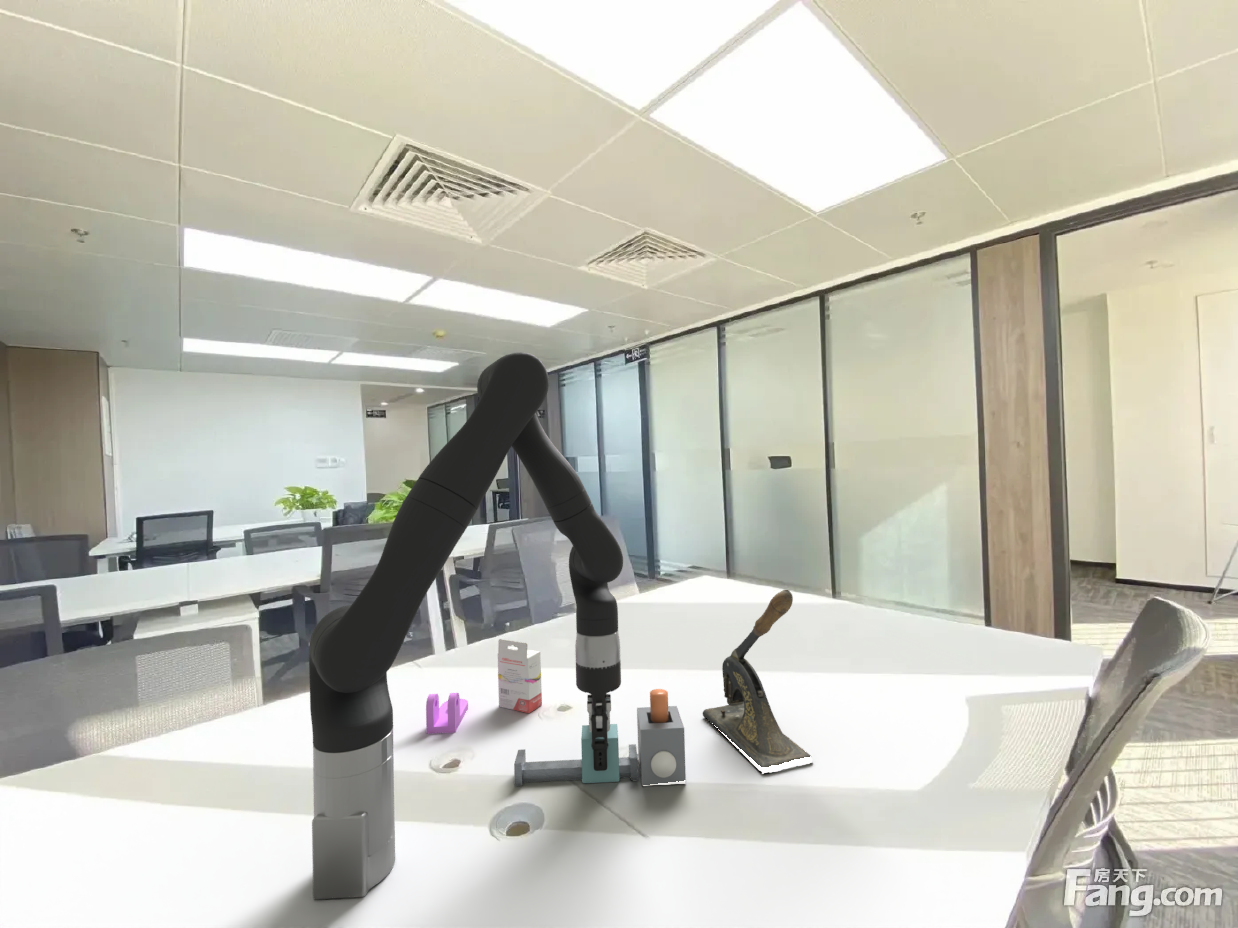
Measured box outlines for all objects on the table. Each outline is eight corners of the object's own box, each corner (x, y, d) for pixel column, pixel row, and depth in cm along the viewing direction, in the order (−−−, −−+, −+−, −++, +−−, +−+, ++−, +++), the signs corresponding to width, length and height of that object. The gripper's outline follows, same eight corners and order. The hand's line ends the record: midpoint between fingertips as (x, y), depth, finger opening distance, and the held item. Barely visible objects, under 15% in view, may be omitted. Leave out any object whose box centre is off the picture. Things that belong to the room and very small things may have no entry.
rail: (638, 780, 86) (637, 757, 86) (514, 786, 85) (514, 763, 85) (636, 765, 90) (635, 744, 90) (518, 771, 89) (518, 749, 89)
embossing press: (748, 709, 110) (744, 566, 111) (819, 769, 88) (813, 588, 88) (700, 716, 108) (696, 569, 108) (761, 780, 85) (755, 594, 85)
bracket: (455, 732, 104) (454, 697, 104) (426, 734, 103) (425, 698, 103) (470, 704, 117) (470, 672, 117) (445, 705, 116) (444, 673, 116)
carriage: (619, 781, 85) (618, 737, 85) (582, 783, 85) (581, 739, 85) (618, 765, 90) (617, 723, 90) (583, 766, 90) (582, 725, 90)
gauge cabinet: (686, 785, 84) (684, 728, 84) (642, 788, 83) (640, 730, 84) (678, 757, 92) (676, 705, 92) (638, 759, 92) (636, 707, 92)
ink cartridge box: (543, 704, 115) (541, 637, 115) (529, 714, 111) (527, 643, 111) (512, 698, 119) (510, 632, 119) (497, 706, 115) (496, 639, 115)
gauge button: (669, 722, 87) (668, 695, 87) (651, 723, 87) (650, 696, 87) (667, 714, 90) (666, 688, 90) (649, 715, 90) (649, 689, 90)
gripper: (622, 672, 81) (625, 784, 81) (618, 643, 95) (621, 737, 95) (573, 674, 81) (576, 786, 80) (577, 644, 95) (579, 739, 95)
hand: (600, 759), depth 88 cm, fingers closed on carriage, 4 cm apart
